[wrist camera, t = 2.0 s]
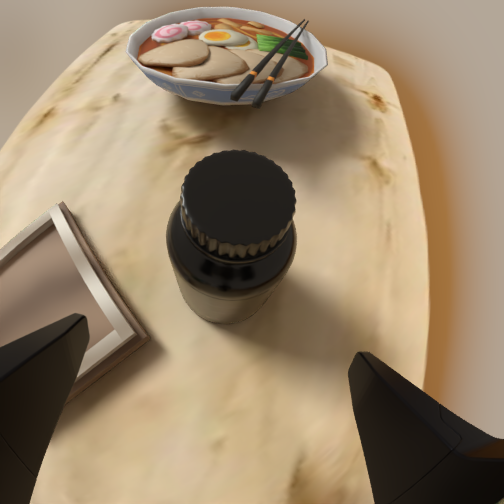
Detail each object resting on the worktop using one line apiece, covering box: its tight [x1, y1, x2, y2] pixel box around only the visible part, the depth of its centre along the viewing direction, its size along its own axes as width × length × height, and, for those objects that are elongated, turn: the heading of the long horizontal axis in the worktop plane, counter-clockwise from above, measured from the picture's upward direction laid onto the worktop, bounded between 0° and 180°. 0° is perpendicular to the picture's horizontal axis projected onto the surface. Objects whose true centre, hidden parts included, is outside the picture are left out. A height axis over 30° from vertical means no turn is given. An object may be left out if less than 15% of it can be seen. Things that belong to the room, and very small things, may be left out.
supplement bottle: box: [166, 150, 297, 324], centre depth 17 cm, size 7×7×12 cm
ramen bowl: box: [126, 7, 328, 109], centre depth 29 cm, size 25×23×8 cm
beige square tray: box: [0, 201, 151, 404], centre depth 18 cm, size 14×14×2 cm
